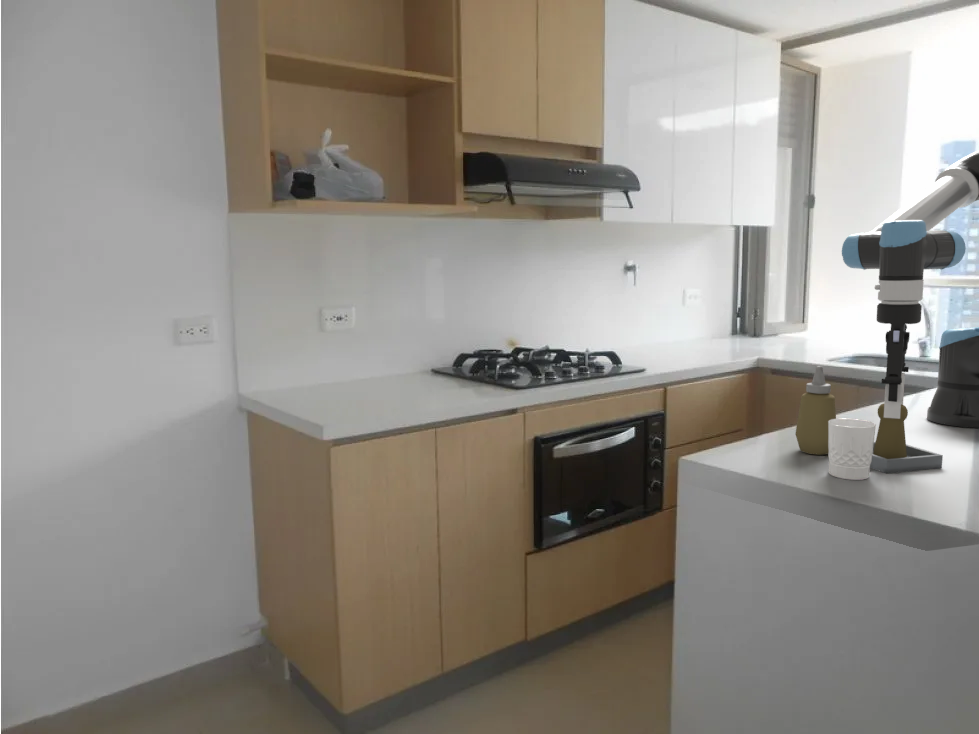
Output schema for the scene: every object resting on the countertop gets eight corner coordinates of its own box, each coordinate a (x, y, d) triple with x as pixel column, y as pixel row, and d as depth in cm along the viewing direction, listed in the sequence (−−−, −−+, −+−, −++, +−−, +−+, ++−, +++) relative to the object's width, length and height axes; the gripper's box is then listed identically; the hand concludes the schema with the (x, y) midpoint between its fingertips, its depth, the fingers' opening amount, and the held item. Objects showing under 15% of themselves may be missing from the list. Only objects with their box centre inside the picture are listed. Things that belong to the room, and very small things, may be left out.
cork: (901, 454, 150) (904, 400, 149) (911, 462, 144) (915, 406, 143) (868, 453, 151) (871, 400, 150) (877, 461, 146) (881, 406, 144)
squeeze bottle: (808, 457, 152) (812, 370, 149) (786, 448, 160) (790, 364, 157) (844, 455, 153) (849, 368, 151) (821, 446, 161) (825, 363, 159)
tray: (891, 451, 156) (892, 440, 155) (941, 467, 143) (942, 455, 143) (839, 456, 152) (840, 444, 152) (886, 473, 140) (887, 460, 140)
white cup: (878, 482, 135) (881, 428, 134) (832, 480, 137) (834, 426, 135) (864, 470, 143) (867, 418, 142) (820, 468, 144) (823, 417, 143)
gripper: (881, 297, 156) (876, 397, 159) (872, 307, 135) (867, 422, 138) (923, 298, 152) (917, 400, 155) (920, 307, 131) (913, 425, 134)
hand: (893, 410), depth 147 cm, fingers open, 13 cm apart
